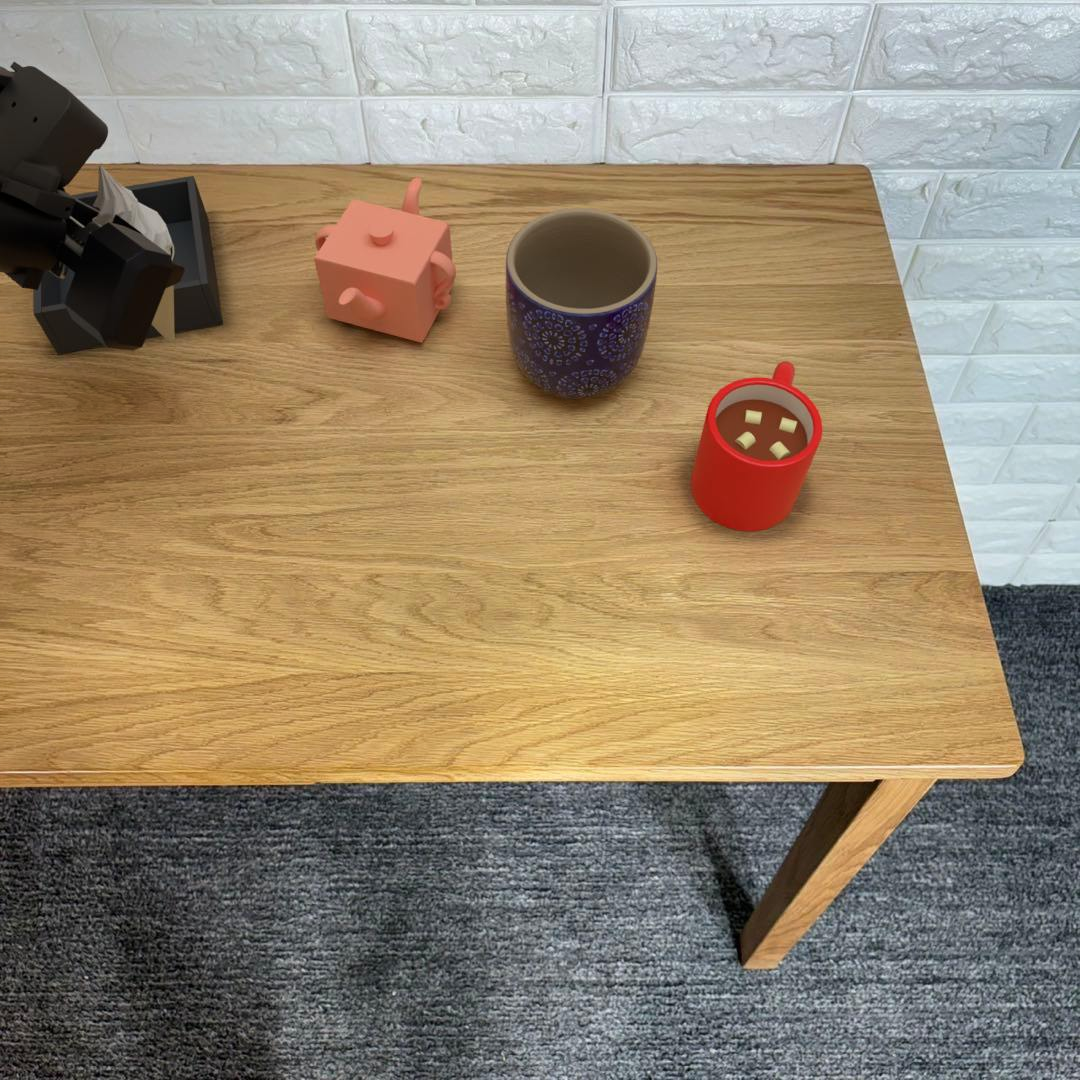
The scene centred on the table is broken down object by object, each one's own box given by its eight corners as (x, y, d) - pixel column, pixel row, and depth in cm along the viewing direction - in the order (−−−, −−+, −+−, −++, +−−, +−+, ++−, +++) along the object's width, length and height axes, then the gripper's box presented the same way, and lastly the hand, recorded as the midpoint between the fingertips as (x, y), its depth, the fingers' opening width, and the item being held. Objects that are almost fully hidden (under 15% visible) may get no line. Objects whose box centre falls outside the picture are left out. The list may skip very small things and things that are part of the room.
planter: (592, 296, 84) (601, 187, 75) (669, 380, 80) (689, 275, 70) (482, 347, 81) (476, 240, 72) (555, 438, 76) (559, 337, 67)
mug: (817, 421, 78) (845, 352, 71) (783, 544, 72) (809, 481, 65) (719, 393, 79) (737, 323, 72) (677, 512, 73) (693, 447, 66)
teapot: (288, 351, 81) (265, 274, 74) (364, 231, 88) (350, 150, 81) (424, 389, 79) (414, 313, 72) (490, 262, 86) (487, 182, 79)
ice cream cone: (219, 326, 74) (157, 151, 61) (181, 374, 71) (108, 202, 58) (161, 307, 74) (88, 130, 62) (121, 353, 72) (36, 180, 59)
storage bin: (57, 354, 80) (33, 313, 76) (54, 244, 87) (32, 201, 83) (223, 324, 82) (208, 283, 78) (208, 218, 89) (193, 175, 85)
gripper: (81, 135, 48) (298, 207, 62) (-127, -12, 54) (112, 84, 68) (9, 341, 51) (229, 365, 65) (-179, 180, 57) (59, 234, 71)
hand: (156, 255), depth 67 cm, fingers closed on ice cream cone, 5 cm apart
